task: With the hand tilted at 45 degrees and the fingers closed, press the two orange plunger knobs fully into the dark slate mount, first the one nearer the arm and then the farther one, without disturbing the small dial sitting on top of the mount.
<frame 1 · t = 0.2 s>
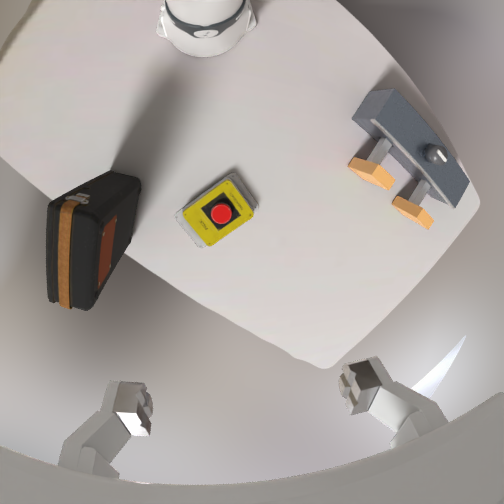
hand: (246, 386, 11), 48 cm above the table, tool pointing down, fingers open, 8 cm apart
black box: (118, 208, 53), on the table
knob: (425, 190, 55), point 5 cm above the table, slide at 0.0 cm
mount: (405, 147, 55), on the table
dial: (431, 153, 47), point 9 cm above the table, touching mount
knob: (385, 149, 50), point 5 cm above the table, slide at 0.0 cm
emergency button: (216, 210, 57), on the table
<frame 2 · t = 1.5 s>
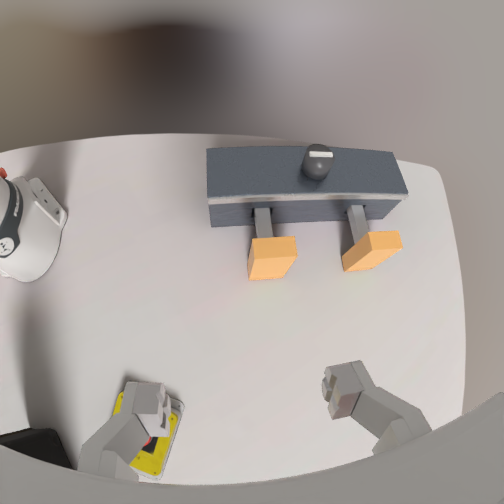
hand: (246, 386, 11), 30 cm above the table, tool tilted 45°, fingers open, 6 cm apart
black box: (58, 465, 29), on the table
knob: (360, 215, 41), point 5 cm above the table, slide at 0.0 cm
mount: (300, 200, 48), on the table
dial: (315, 168, 39), point 9 cm above the table, touching mount
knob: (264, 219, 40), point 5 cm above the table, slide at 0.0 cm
emergency button: (144, 432, 34), on the table
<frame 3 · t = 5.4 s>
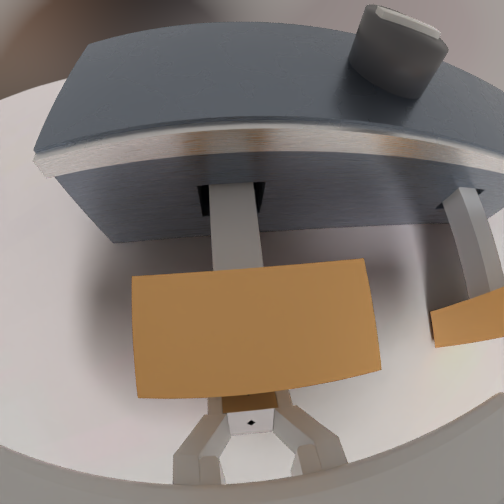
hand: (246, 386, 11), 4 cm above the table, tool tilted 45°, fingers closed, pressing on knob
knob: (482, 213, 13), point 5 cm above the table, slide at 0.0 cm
mount: (333, 176, 19), on the table
dial: (386, 71, 10), point 9 cm above the table, touching mount
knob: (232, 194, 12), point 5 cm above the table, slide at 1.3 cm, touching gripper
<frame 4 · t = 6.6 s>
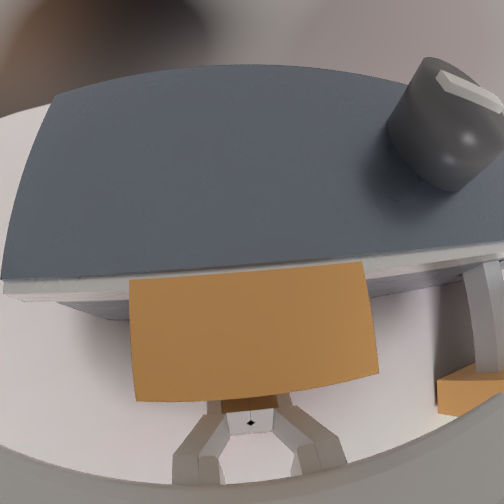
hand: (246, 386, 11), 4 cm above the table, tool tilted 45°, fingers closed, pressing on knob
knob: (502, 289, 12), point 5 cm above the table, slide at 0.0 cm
mount: (348, 237, 18), on the table
dial: (431, 146, 9), point 9 cm above the table, touching mount
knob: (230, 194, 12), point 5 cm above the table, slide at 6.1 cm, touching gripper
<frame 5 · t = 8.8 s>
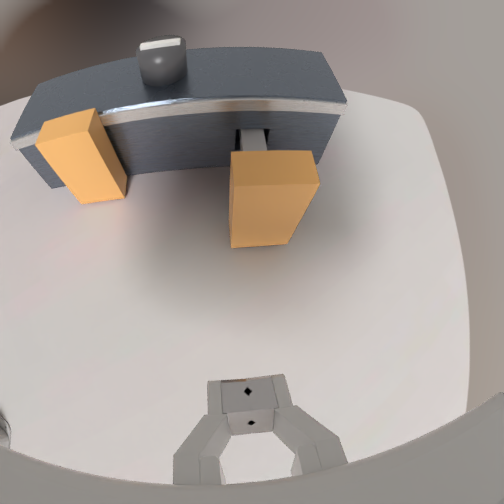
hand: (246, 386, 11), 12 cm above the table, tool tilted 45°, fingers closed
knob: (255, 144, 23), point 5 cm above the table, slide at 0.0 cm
mount: (176, 141, 29), on the table
dial: (164, 73, 20), point 9 cm above the table, touching mount
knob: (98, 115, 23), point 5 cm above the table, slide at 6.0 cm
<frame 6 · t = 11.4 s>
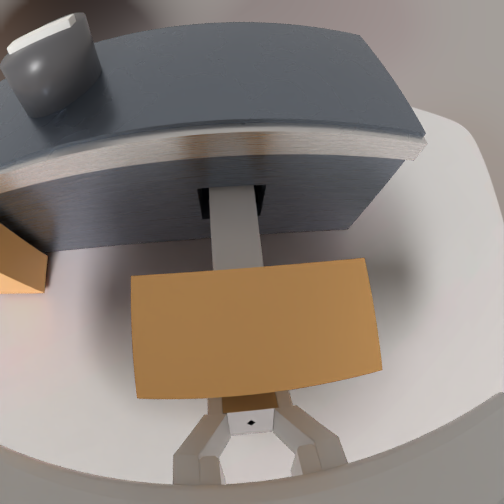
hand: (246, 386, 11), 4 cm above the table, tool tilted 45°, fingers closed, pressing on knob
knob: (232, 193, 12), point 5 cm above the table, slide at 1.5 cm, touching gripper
mount: (118, 191, 18), on the table
dial: (62, 86, 9), point 9 cm above the table, touching mount
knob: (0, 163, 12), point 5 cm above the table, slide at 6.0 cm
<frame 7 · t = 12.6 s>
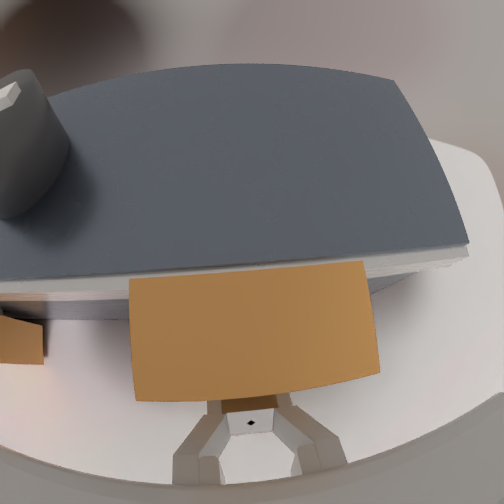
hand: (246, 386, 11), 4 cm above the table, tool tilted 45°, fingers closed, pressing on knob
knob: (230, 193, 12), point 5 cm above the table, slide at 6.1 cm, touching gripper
mount: (111, 254, 16), on the table
dial: (24, 167, 7), point 9 cm above the table, touching mount
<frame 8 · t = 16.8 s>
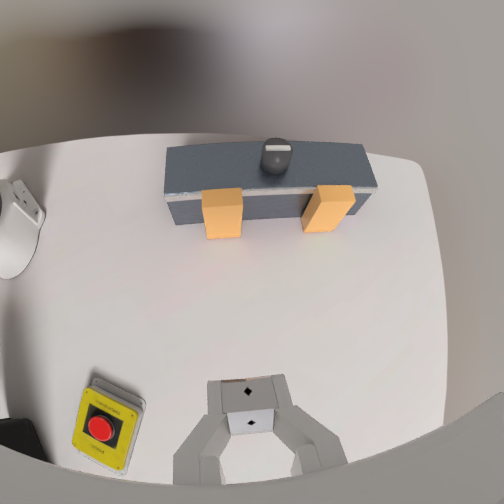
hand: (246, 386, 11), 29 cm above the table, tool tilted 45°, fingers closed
black box: (34, 454, 28), on the table
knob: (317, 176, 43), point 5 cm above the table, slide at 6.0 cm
mount: (266, 197, 47), on the table
dial: (274, 162, 38), point 9 cm above the table, touching mount
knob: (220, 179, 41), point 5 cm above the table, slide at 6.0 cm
emergency button: (109, 428, 33), on the table
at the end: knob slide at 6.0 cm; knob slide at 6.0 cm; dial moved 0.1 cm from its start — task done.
